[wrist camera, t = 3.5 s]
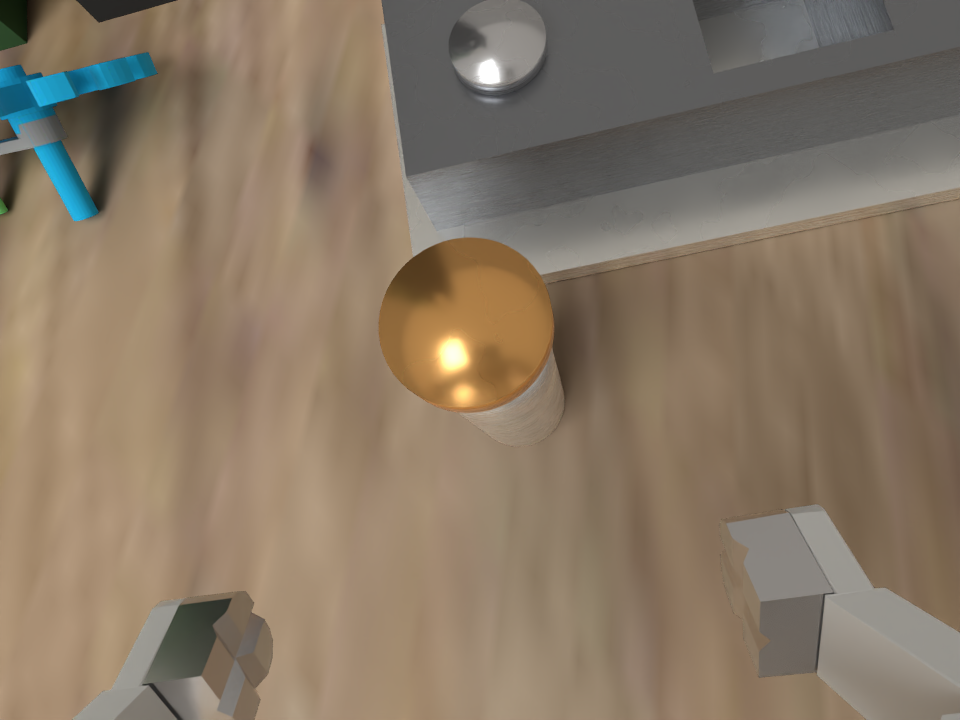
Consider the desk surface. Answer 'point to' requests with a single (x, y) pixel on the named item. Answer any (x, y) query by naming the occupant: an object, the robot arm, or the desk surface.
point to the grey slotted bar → (667, 121)
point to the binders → (6, 3)
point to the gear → (43, 131)
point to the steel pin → (476, 338)
